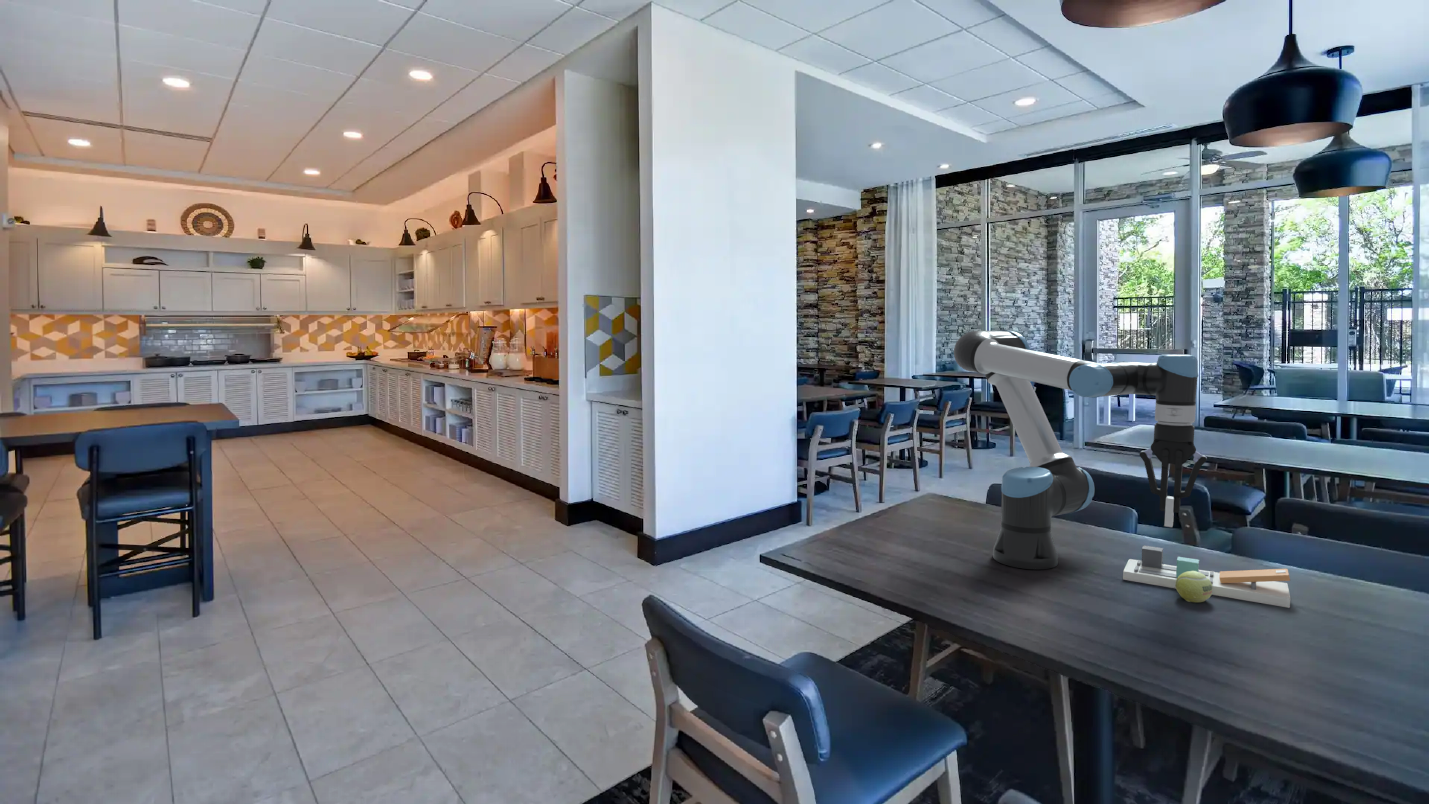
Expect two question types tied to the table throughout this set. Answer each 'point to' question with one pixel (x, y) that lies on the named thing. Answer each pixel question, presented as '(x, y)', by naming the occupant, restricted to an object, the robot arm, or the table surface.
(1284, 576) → the tan block
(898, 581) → the table surface
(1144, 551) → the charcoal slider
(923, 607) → the table surface
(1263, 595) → the panel
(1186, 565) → the teal slider
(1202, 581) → the tennis ball
